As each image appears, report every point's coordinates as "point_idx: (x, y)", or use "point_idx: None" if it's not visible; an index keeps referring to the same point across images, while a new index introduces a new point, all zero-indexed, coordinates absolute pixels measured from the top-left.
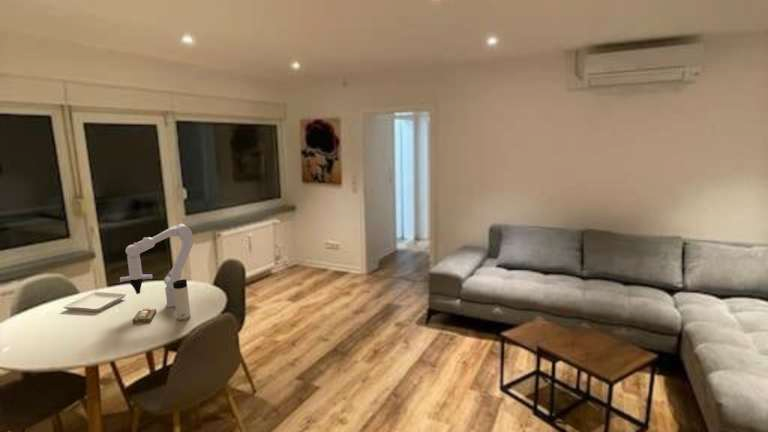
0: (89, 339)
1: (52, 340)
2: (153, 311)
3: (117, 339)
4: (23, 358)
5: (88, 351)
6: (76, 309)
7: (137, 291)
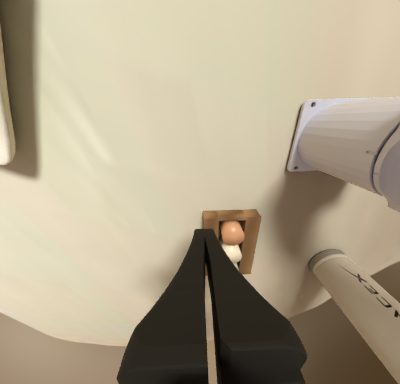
0: (137, 303)
1: (56, 295)
2: (254, 235)
3: None
4: (65, 331)
5: None
6: None
7: (206, 267)
